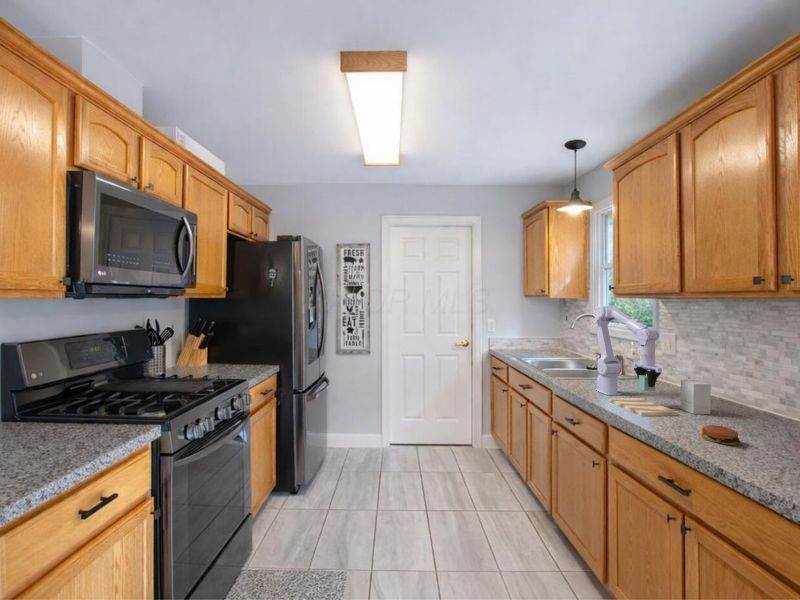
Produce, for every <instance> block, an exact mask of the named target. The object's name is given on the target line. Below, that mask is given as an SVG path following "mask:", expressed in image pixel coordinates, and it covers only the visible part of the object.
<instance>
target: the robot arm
mask: <svg viewBox="0 0 800 600" xmlns="http://www.w3.org/2000/svg"><path fill="white" fill-rule="evenodd" d="M593 315H594V325H595V330H596V336H597V341H598V347H599V351H600V352H599V353H600V355H601V356H600V358H599V359H598V360H597V372H598V373H599V374H598V375H597V378H596V388H595V389H594V391H596V390H597V391H596V392H598V391H599V392H598V393H600V394H603V395H605V396H621V395H622V393H620V392H618V384H619V383H618V378H619V376H620V374H621V373H622V369H623V368H622V365H621V364H620V361H619V358H617V357H616V356H615V355H614V351H613V346H612V341H611V336H610V332H609V326H608V325H609V324H610V323H611V322H612V321H613V320H614V321H615V320H617V321H619V322H621V323H623V324H624V325H625V327H626V329H627V330H628V331H630V332H631V333H632V334H634V335H635V336H636V338H637V341H638V344H639V361H634V362H633V367H634V368H633V370H634V372H635V374H636V376H637V379H638V381H639V375H647V377H648V385H649V387H654V386H655V387H656V382H657V380H658V378H659V377H660V375H662V373H663V367H659V366H657V365H656V341H657V340H658V339H659V337H660V334H659V333H660V332H659V331H658V330H657V329H656V328H654V327H649V326H648V325H647V324H644V323H642V322H641V320H640V319H637V318H631V317H629V316H628V315H627V314H625V313H624V312H623V311H622V310H621V309H620V308H619V307H617V306H616V305H597V306H596V307H595V308H594V311H593Z"/></svg>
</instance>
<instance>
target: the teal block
mask: <svg viewBox="0 0 800 600" xmlns="http://www.w3.org/2000/svg"><path fill="white" fill-rule="evenodd" d="M638 389H639V390H642V391H644V392H655V391H656V385H655V386H654V387H649V385H648V377H647V374H646V375H639V380H638Z"/></svg>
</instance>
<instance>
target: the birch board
mask: <svg viewBox="0 0 800 600" xmlns="http://www.w3.org/2000/svg"><path fill="white" fill-rule="evenodd" d="M608 401H609V403H611V404H613V405H615V406H618V407H620V408H623V409H624V410H627V411H628V412H631V413H633V414H635V415H638V416H640V417H659V416H660V417H663V416H664V417H669V416H672V417H673V416H674V417H675V416H679V411H677V410H674V409H672V408H669V407H666V406H663V405H661V404H658V403H655V402H653V401H650V400H647V399H645V398H641V397H639V398H636V397H635V398H633V397H631V398H609V399H608Z"/></svg>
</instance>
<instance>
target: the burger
mask: <svg viewBox="0 0 800 600" xmlns="http://www.w3.org/2000/svg"><path fill="white" fill-rule="evenodd" d="M701 430H702V432H701V437H702V438H703V440H705V439H706V441H709V442H711V441H712V443H715V442H716V443H717V444H720V443H721V445H724V446H725V445H726V446H737V445H738V444H740V443H741V440H740V438H739V433H738V431H736V430H735V429H732V428H730V427H726V426H721V425H715V424H713V425H712V424H710V425H705V426H702V428H701Z"/></svg>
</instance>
